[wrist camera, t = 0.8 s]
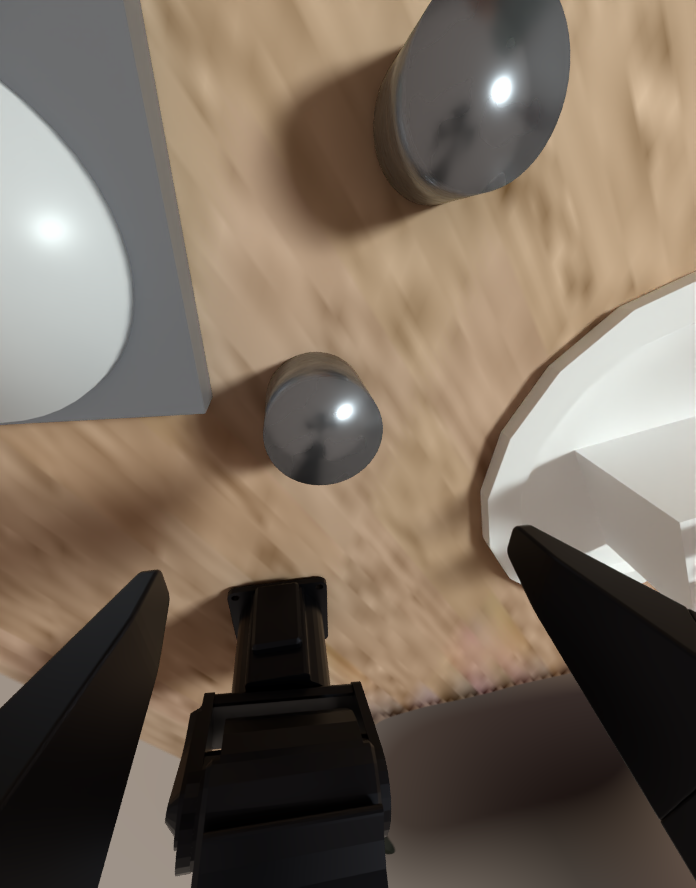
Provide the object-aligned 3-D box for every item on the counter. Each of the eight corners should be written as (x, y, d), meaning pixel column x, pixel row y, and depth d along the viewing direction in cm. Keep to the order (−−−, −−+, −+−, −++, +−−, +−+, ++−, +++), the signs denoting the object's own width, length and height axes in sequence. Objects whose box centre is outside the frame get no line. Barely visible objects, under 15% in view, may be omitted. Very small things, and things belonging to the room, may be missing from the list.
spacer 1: (361, 439, 20) (379, 480, 16) (270, 446, 19) (269, 489, 16) (365, 350, 17) (386, 375, 14) (261, 353, 17) (256, 381, 13)
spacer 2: (483, 207, 15) (542, 196, 12) (370, 203, 15) (398, 190, 11) (510, 42, 13) (594, -32, 9) (376, 27, 12) (415, -60, 9)
